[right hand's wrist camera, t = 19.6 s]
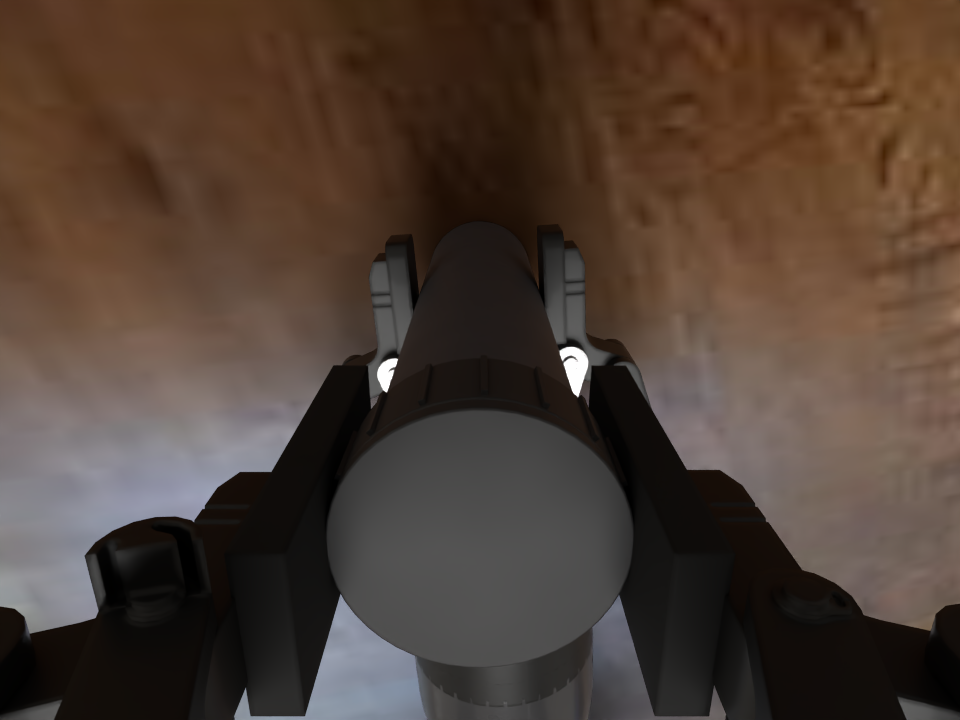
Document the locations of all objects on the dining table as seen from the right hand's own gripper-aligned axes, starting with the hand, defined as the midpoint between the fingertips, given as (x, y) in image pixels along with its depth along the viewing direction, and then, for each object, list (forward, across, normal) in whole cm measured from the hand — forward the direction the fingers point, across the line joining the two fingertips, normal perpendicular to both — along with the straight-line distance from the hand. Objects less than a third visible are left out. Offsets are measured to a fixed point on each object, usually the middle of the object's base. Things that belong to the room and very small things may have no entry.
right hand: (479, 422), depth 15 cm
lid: (-4, 0, 0) cm, 4 cm away
